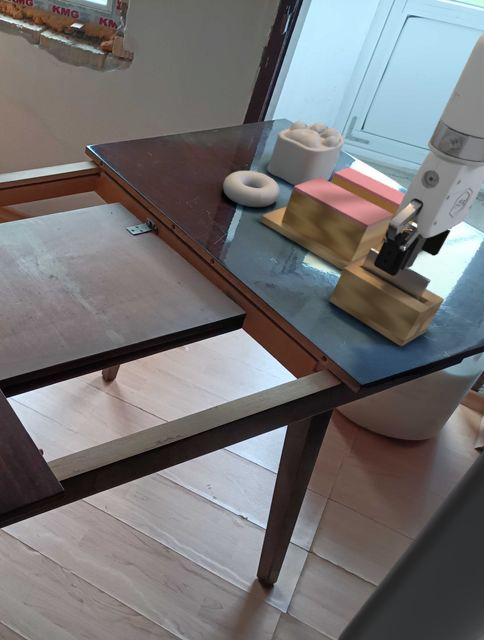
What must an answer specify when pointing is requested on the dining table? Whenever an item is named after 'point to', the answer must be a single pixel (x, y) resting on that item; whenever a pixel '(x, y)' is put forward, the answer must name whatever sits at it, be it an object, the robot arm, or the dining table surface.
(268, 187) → the donut
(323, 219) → the cake
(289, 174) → the lumpy-topped squat cylinder
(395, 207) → the cake slice
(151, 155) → the dining table surface
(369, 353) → the dining table surface
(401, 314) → the knife block
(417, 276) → the flat grey rectangular blade
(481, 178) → the robot arm
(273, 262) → the dining table surface
